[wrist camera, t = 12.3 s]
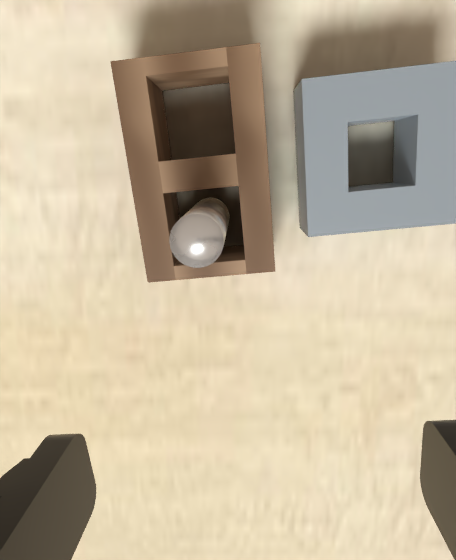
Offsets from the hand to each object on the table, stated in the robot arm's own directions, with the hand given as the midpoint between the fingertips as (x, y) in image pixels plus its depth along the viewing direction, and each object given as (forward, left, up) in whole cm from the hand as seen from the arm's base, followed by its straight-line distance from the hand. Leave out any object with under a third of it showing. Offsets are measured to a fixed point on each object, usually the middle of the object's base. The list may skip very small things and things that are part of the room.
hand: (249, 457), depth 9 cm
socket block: (-10, -6, -23) cm, 26 cm away
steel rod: (+2, -3, -23) cm, 23 cm away
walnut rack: (+2, -6, -23) cm, 24 cm away
